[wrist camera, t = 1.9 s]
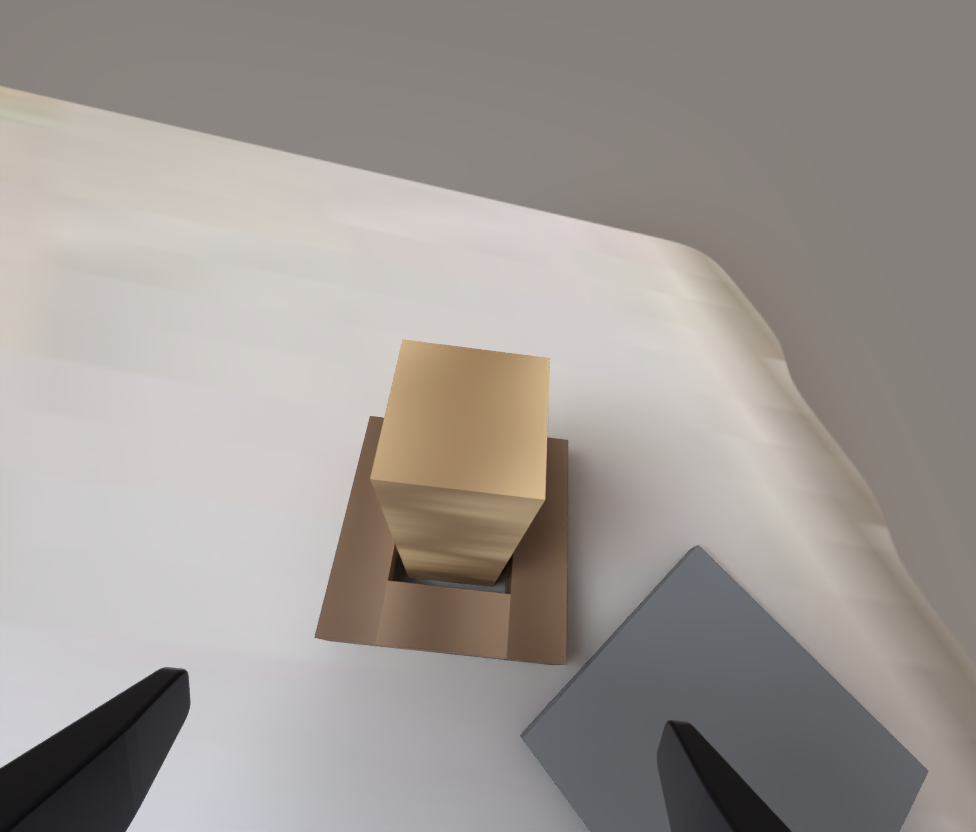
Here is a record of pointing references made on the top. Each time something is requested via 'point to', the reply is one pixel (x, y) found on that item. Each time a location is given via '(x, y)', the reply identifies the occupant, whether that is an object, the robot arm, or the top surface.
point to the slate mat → (719, 716)
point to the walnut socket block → (443, 610)
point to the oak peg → (462, 458)
